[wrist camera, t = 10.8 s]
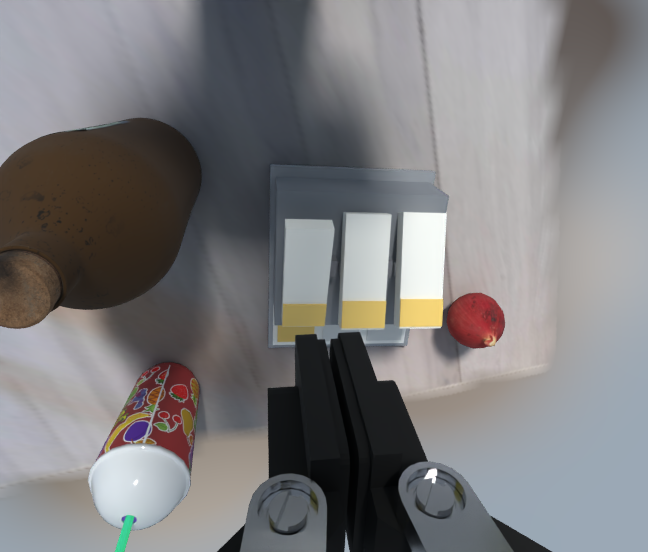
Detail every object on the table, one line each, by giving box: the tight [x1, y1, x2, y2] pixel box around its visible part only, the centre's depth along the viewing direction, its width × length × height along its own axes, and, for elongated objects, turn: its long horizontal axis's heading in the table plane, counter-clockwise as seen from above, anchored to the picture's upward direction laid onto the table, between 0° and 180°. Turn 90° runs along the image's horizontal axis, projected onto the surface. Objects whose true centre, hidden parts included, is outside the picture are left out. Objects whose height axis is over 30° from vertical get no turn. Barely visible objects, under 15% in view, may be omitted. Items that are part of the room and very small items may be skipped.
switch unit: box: [268, 164, 449, 348], centre depth 44 cm, size 20×16×7 cm
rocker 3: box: [393, 212, 447, 329], centre depth 39 cm, size 10×4×3 cm, turn 176°
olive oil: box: [0, 118, 201, 329], centre depth 30 cm, size 11×11×25 cm
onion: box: [447, 293, 505, 348], centre depth 47 cm, size 6×6×8 cm
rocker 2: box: [338, 212, 392, 330], centre depth 39 cm, size 10×4×3 cm, turn 176°
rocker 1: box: [281, 219, 335, 327], centre depth 38 cm, size 10×4×3 cm, turn 176°
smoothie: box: [88, 362, 200, 552], centre depth 42 cm, size 8×8×20 cm
